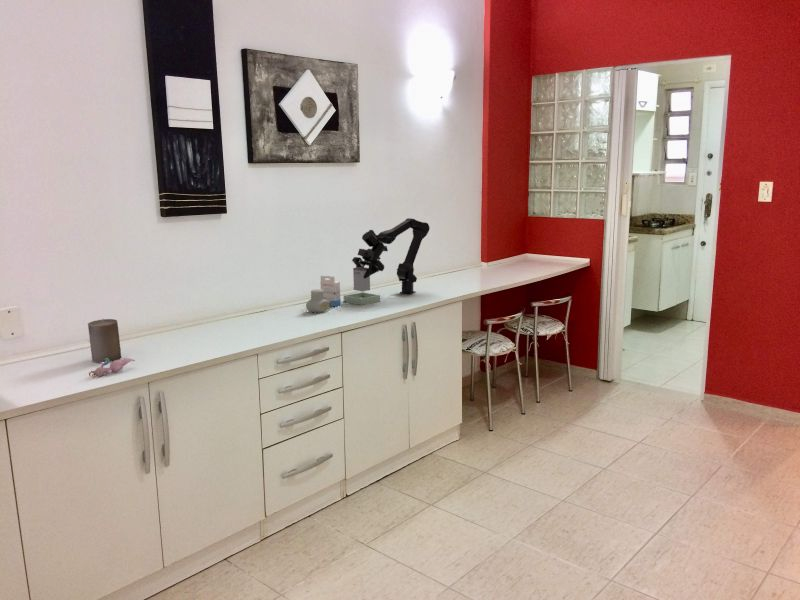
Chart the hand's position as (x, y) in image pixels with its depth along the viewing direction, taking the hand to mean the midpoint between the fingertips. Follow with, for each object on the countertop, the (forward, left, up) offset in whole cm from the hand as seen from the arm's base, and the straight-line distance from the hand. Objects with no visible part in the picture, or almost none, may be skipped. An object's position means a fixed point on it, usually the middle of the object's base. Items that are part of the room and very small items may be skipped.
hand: (359, 277), depth 329 cm
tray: (-1, 0, -12) cm, 13 cm away
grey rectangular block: (-1, 0, -7) cm, 7 cm away
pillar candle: (+128, -14, -13) cm, 129 cm away
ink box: (+14, -7, -13) cm, 20 cm away
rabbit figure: (+136, +2, -13) cm, 136 cm away
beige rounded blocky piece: (+28, -3, -13) cm, 31 cm away
